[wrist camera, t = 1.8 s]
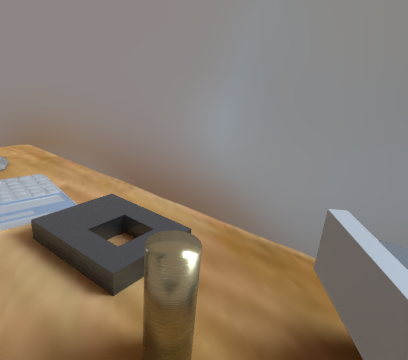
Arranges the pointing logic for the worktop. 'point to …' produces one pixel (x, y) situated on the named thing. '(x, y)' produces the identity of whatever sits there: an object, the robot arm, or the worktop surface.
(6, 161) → the mossy stone tower
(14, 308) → the worktop surface
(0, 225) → the calculator
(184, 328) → the brushed metal cylinder
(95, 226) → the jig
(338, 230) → the robot arm
